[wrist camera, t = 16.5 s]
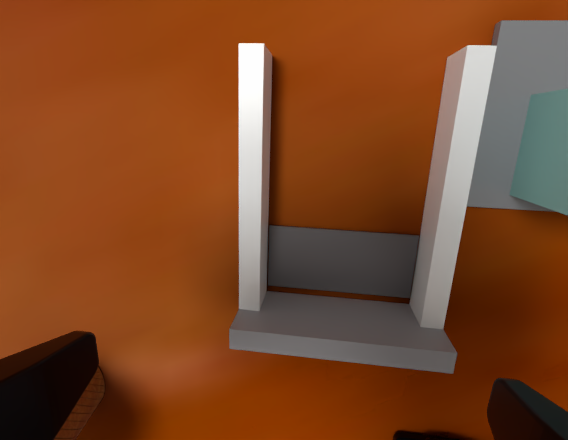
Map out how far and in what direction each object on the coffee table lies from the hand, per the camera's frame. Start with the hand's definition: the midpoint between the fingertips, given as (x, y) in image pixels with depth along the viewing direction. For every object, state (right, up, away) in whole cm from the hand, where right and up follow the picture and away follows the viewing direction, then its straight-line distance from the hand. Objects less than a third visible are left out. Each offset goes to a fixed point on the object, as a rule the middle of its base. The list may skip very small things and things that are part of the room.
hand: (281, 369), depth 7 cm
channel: (+4, +5, +12) cm, 13 cm away
